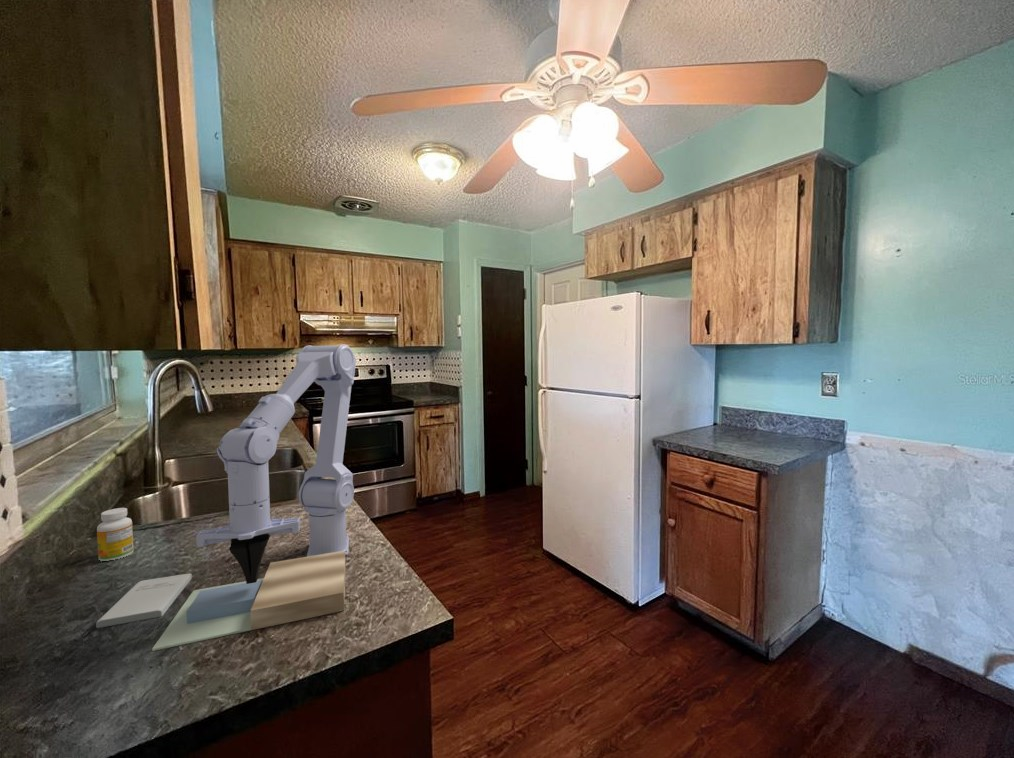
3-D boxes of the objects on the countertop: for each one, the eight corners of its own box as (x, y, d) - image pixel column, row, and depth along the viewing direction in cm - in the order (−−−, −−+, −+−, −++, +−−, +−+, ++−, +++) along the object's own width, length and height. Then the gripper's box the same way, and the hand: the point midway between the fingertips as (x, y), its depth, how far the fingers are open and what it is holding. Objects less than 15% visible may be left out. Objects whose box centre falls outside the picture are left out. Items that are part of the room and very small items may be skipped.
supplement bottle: (99, 556, 86) (97, 510, 86) (133, 548, 90) (131, 504, 90) (97, 565, 82) (94, 517, 82) (133, 556, 86) (131, 511, 86)
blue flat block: (200, 602, 68) (200, 591, 68) (262, 591, 71) (262, 580, 71) (187, 624, 63) (186, 611, 62) (254, 610, 66) (254, 598, 66)
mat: (193, 591, 72) (193, 590, 72) (271, 578, 76) (270, 576, 76) (152, 651, 57) (152, 649, 57) (251, 630, 61) (251, 628, 61)
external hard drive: (96, 631, 62) (138, 589, 74) (162, 619, 65) (192, 580, 77) (95, 621, 62) (137, 580, 74) (161, 609, 65) (191, 572, 77)
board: (271, 578, 76) (270, 562, 76) (345, 565, 81) (345, 550, 81) (251, 630, 61) (250, 610, 61) (344, 610, 66) (343, 592, 66)
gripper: (187, 514, 61) (191, 602, 62) (295, 501, 67) (298, 583, 67) (203, 500, 68) (206, 580, 68) (300, 489, 73) (302, 563, 74)
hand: (252, 580), depth 68 cm, fingers closed
